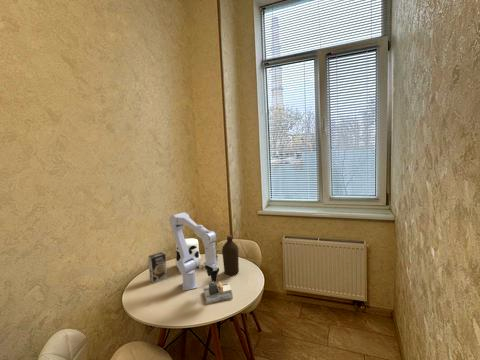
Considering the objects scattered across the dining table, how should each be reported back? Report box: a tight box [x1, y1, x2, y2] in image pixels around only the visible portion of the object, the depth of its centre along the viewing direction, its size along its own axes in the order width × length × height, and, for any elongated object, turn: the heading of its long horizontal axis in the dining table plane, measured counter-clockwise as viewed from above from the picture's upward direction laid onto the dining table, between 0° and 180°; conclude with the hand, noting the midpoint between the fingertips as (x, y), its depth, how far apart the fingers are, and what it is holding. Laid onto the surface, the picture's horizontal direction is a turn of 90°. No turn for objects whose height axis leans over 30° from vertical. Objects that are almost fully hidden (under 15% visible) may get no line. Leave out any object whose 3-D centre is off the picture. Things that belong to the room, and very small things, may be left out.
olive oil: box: [221, 234, 240, 277], centre depth 165 cm, size 11×11×25 cm
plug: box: [208, 281, 217, 295], centre depth 138 cm, size 4×4×8 cm
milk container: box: [175, 237, 202, 269], centre depth 179 cm, size 17×17×18 cm
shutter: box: [218, 281, 233, 293], centre depth 140 cm, size 6×6×3 cm
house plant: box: [215, 241, 223, 262], centre depth 179 cm, size 14×14×16 cm
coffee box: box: [147, 252, 168, 284], centre depth 162 cm, size 9×6×16 cm
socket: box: [202, 283, 234, 305], centre depth 139 cm, size 12×14×3 cm
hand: (211, 278), depth 139 cm, fingers open, 7 cm apart
